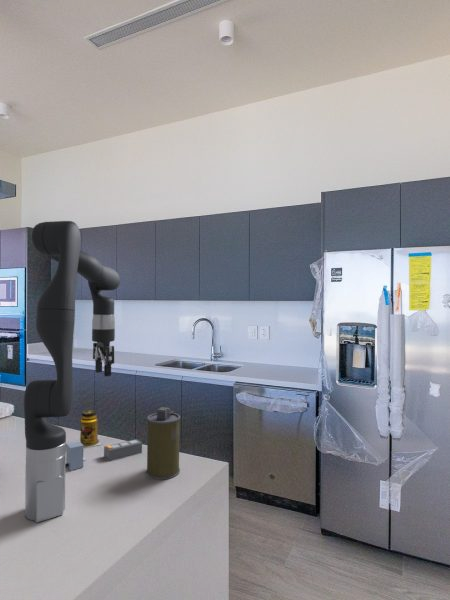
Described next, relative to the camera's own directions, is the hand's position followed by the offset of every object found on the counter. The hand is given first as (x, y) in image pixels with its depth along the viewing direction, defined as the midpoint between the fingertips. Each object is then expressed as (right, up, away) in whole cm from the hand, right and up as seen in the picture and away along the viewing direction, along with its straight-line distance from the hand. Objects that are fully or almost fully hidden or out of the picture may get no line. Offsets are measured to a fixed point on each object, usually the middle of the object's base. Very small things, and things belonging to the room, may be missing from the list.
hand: (103, 374), depth 133 cm
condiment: (-9, -28, +11) cm, 32 cm away
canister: (+23, -29, -12) cm, 39 cm away
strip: (+7, -28, +1) cm, 29 cm away
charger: (-7, -28, -11) cm, 31 cm away
